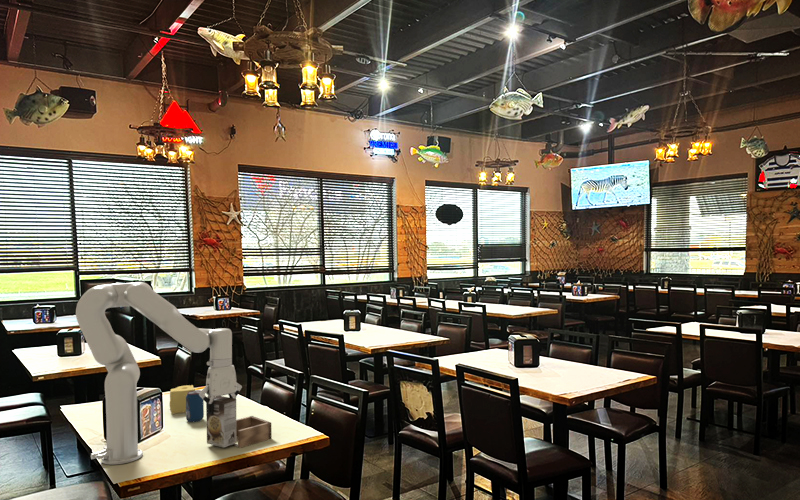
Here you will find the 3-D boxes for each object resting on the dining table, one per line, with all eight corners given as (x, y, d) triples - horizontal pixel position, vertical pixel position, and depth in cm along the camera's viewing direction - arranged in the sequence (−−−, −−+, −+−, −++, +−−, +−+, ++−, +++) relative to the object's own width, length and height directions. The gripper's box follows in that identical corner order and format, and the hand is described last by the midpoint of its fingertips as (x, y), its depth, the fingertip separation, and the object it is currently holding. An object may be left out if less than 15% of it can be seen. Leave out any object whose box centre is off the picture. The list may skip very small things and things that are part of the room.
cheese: (169, 408, 248) (169, 386, 248) (194, 405, 253) (194, 384, 253) (170, 414, 239) (170, 391, 239) (196, 411, 243) (196, 389, 244)
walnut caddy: (239, 447, 195) (239, 431, 195) (221, 439, 204) (220, 423, 204) (271, 438, 204) (271, 422, 204) (252, 431, 214) (252, 415, 214)
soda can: (206, 418, 232) (206, 390, 232) (199, 423, 225) (198, 394, 226) (191, 418, 233) (190, 389, 233) (183, 422, 226) (182, 393, 226)
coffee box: (206, 443, 197) (205, 399, 197) (219, 438, 202) (219, 395, 202) (223, 448, 192) (223, 402, 192) (237, 442, 198) (236, 397, 198)
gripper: (203, 367, 189) (203, 419, 188) (247, 360, 201) (247, 409, 201) (193, 365, 194) (193, 415, 193) (237, 358, 206) (237, 405, 206)
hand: (220, 411), depth 197 cm, fingers closed on coffee box, 7 cm apart
